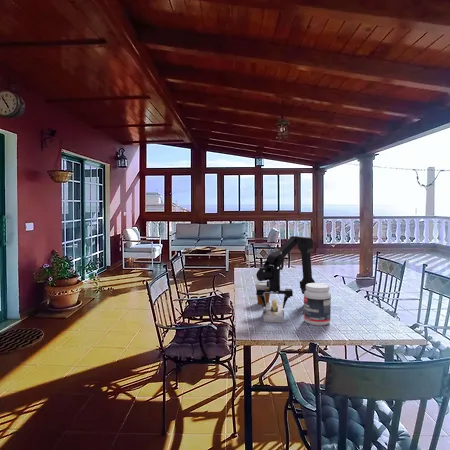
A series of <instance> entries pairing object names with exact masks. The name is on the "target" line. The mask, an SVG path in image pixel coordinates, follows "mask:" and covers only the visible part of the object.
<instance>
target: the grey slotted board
mask: <svg viewBox="0 0 450 450" xmlns="http://www.w3.org/2000/svg"><path fill="white" fill-rule="evenodd" d="M263 312H264V313H263V322H264V323H282V324H283V323H285V308H284V309H283V302H282V303H281V302H277V308H276V312H273V308H272V302H269V303H266V308H265V307H264V311H263Z"/></svg>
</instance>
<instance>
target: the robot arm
mask: <svg viewBox="0 0 450 450" xmlns="http://www.w3.org/2000/svg"><path fill="white" fill-rule="evenodd" d="M296 246H297V248H298V250H299V251H300V253H301V255H300V256H301V265H302V266H301V268H302V279H301V280H300V281H299V289H300V290H301V294H302V295H304V292H305V291H306V288H305V287H306V284H308V283H316V282H315V279H314V278H313V274H312V273H313V271H312V258H311V252H312V251H313V248H314V240H313V239H312V238H311V237H308V236H297V235H296V236H295V235H292V236H290V237H289V239H287V241H286V242H285V243H284V244H283V245H282V246H280V248H278V250H276V251H273V252H271V253H270V254H268V256H267V257H266V260H265V262H264V264H263V265H262V267H258V270H257V272H256V279H257V281H258V282H267V287H269V290H264V288H257V290H256V289H255V290H256V292H255V294H256V296H257V295H259V297H261V299H262V301H263V303H264V305H263V306H264V309H265V308H266V300H265V293H266V294H270V295H271V294H272V295H273V294H274V295H275V294H276V295H284V296H283V302H282V303H283V309H284V310H285V306H286V303H287V301H288V299H290V298H291V297H293V294H294V293H293V292H294V291H293V289H292V288H284V290H282V289H281V271H283V270H284V268H283V267H282V264H283V263H284V261H285V258H286V256H288V254H289V253H290V252H291V251H292V250H293V249H294V248H295V247H296Z"/></svg>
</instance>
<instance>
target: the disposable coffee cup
mask: <svg viewBox="0 0 450 450" xmlns="http://www.w3.org/2000/svg"><path fill="white" fill-rule="evenodd" d="M254 286H255V290H257V288H264V290H269V287H267V281H258V282H255V284H254ZM270 296H271V294H266V293H265V300H266V303H270ZM256 299H257V304H258V305H259V306H264V303H263V301H262V299H261V297H259V295H256Z"/></svg>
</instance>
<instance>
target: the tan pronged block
mask: <svg viewBox="0 0 450 450" xmlns="http://www.w3.org/2000/svg"><path fill="white" fill-rule="evenodd" d="M271 303H272V308H273V312H276V308H277V303H278V299H271Z"/></svg>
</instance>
